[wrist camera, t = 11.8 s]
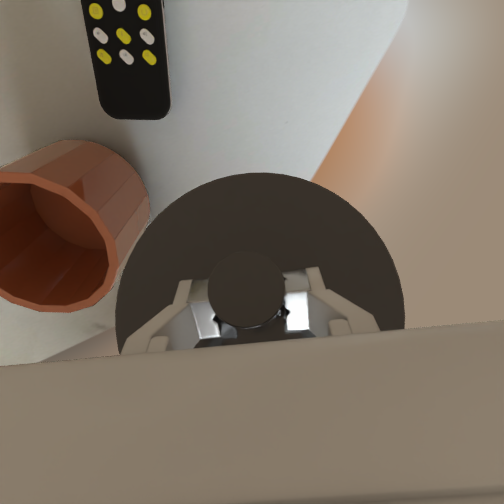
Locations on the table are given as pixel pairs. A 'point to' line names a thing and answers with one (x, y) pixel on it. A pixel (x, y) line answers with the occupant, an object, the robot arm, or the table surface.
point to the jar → (67, 225)
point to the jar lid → (257, 257)
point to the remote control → (129, 57)
